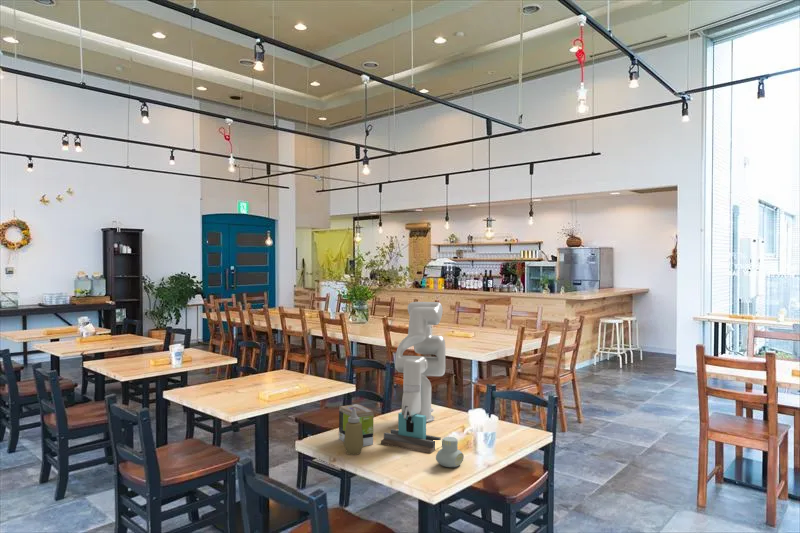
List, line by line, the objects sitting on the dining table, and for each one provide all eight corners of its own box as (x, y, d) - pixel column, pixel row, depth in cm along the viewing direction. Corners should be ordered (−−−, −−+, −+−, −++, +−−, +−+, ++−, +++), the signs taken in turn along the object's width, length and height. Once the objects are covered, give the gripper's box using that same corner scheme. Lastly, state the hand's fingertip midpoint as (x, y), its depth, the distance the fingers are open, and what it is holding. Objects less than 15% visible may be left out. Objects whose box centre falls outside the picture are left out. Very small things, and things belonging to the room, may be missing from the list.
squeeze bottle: (341, 450, 219) (341, 407, 219) (359, 448, 222) (360, 405, 222) (347, 457, 211) (347, 412, 211) (366, 454, 214) (366, 410, 215)
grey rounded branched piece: (452, 471, 196) (452, 444, 196) (433, 467, 201) (433, 440, 201) (465, 463, 205) (465, 437, 205) (447, 458, 210) (447, 433, 210)
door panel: (401, 434, 231) (401, 411, 231) (426, 439, 225) (426, 415, 226) (398, 436, 229) (398, 413, 229) (422, 441, 223) (422, 417, 223)
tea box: (374, 444, 227) (374, 410, 227) (353, 448, 221) (353, 413, 221) (358, 435, 239) (358, 402, 240) (338, 439, 234) (338, 405, 234)
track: (394, 436, 238) (394, 427, 238) (443, 445, 226) (443, 435, 226) (380, 443, 228) (380, 434, 228) (430, 453, 216) (430, 443, 216)
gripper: (413, 383, 236) (413, 424, 236) (395, 390, 222) (395, 434, 222) (428, 385, 233) (428, 427, 232) (410, 392, 218) (410, 437, 218)
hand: (411, 430), depth 227 cm, fingers closed on door panel, 3 cm apart
